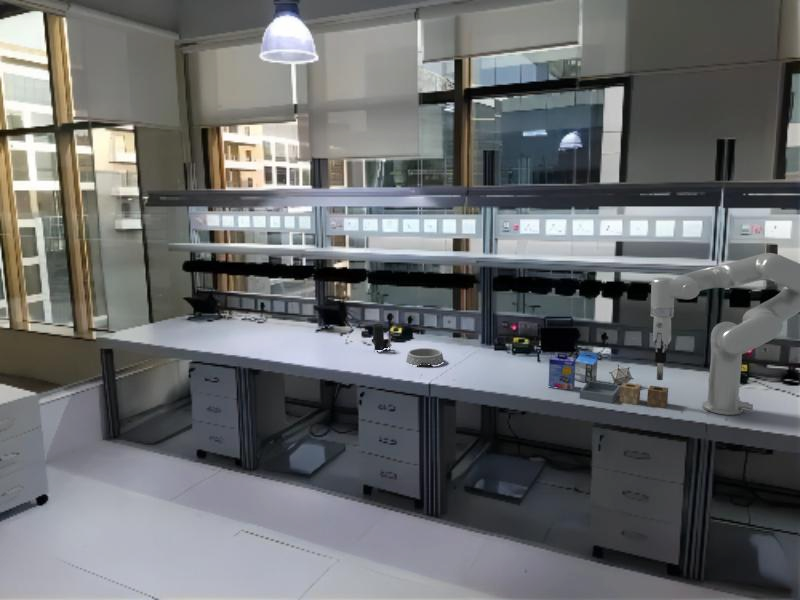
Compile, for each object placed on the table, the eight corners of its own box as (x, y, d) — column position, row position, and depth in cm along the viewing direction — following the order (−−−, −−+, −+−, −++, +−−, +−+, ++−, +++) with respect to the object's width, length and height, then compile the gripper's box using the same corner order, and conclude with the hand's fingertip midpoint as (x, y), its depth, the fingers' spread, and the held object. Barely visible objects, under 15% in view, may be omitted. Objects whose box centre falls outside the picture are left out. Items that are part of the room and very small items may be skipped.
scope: (391, 323, 298) (380, 327, 290) (391, 349, 301) (381, 354, 292) (378, 322, 303) (367, 325, 294) (378, 348, 305) (367, 352, 296)
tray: (620, 393, 227) (620, 385, 227) (612, 403, 215) (612, 395, 215) (589, 388, 233) (589, 381, 233) (579, 398, 222) (579, 390, 221)
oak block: (639, 400, 219) (640, 384, 218) (636, 404, 214) (637, 389, 213) (622, 397, 222) (623, 382, 221) (619, 402, 217) (620, 386, 216)
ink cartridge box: (547, 388, 235) (548, 353, 232) (549, 384, 240) (550, 350, 237) (573, 390, 231) (574, 355, 229) (574, 386, 236) (576, 352, 234)
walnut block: (667, 403, 215) (668, 387, 214) (664, 408, 210) (665, 392, 209) (649, 400, 218) (650, 385, 217) (647, 405, 213) (647, 389, 212)
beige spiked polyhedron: (616, 392, 240) (609, 369, 244) (637, 387, 236) (630, 364, 241) (611, 387, 233) (605, 364, 237) (633, 381, 229) (626, 358, 234)
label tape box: (572, 380, 245) (573, 351, 243) (578, 378, 248) (579, 350, 246) (591, 384, 238) (592, 355, 237) (596, 382, 241) (598, 353, 239)
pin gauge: (663, 379, 213) (664, 347, 211) (662, 380, 211) (663, 348, 209) (657, 378, 214) (658, 346, 212) (656, 379, 212) (657, 347, 210)
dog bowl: (445, 367, 267) (445, 356, 266) (405, 368, 267) (405, 356, 267) (443, 358, 284) (443, 347, 283) (405, 358, 284) (405, 347, 283)
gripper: (670, 316, 200) (668, 368, 203) (676, 309, 213) (674, 358, 216) (647, 315, 204) (645, 366, 207) (654, 308, 217) (653, 356, 220)
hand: (660, 361), depth 211 cm, fingers closed on pin gauge, 2 cm apart
